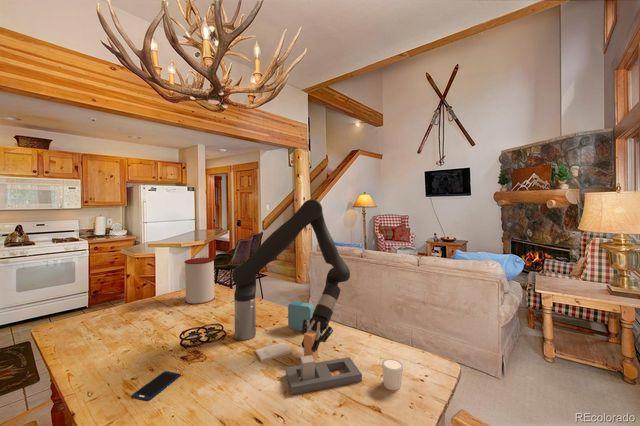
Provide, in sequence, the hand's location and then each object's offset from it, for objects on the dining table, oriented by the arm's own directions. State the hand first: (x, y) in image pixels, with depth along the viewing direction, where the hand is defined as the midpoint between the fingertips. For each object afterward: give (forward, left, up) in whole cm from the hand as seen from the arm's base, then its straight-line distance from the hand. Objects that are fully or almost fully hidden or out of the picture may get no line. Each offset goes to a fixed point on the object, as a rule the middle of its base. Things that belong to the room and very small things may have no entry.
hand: (308, 349), depth 108 cm
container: (-49, +86, -5) cm, 99 cm away
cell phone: (-52, 0, -5) cm, 52 cm away
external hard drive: (-12, +10, -5) cm, 17 cm away
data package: (+3, +28, -5) cm, 29 cm away
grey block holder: (+2, -12, -5) cm, 13 cm away
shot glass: (+23, -22, -5) cm, 32 cm away
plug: (+1, +1, -5) cm, 5 cm away
